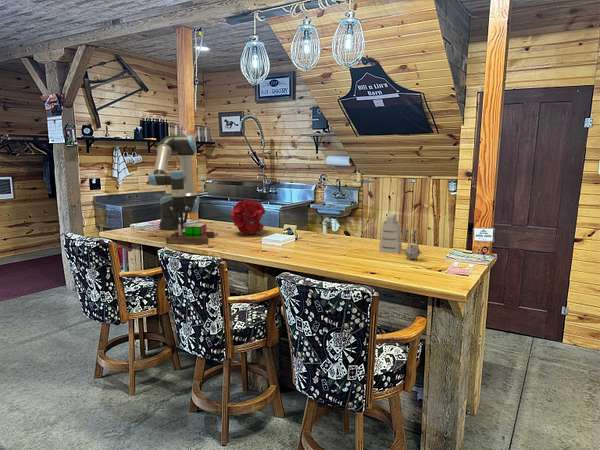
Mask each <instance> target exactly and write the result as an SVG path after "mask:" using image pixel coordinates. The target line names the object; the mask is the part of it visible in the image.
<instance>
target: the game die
mask: <svg viewBox="0 0 600 450" xmlns="http://www.w3.org/2000/svg"><path fill="white" fill-rule="evenodd" d="M402 251H403V252H404V254H405V256H406V259H407V260H408V259H411V260H415V261H418V257H419V255H421V254H422V252H421V251H420V248H419V243H418V244H411V243H407V246H406V247H405V249H402ZM406 259H405V260H406Z"/></svg>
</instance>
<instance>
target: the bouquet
mask: <svg viewBox="0 0 600 450" xmlns="http://www.w3.org/2000/svg"><path fill="white" fill-rule="evenodd" d="M265 213H266V209H265V208H264V206H263V204H262V202H261V201H255V200H253V199H247V198H245V199H244V200H239V201H238V202H237V203H236V204H235V205H234V207H233V209H232V210H231V211H230V216H231V218H232V222H233V225H234V226H235V227H236V228H237V229H238V231H239V232H240V233H241V234H243V235H249V234H254V235H255V234H257V233H259V232H260V231H261V230H263V229H264V227H265V225H264V223H263V222H262V221H261V219H262V217H263V215H265Z"/></svg>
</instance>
